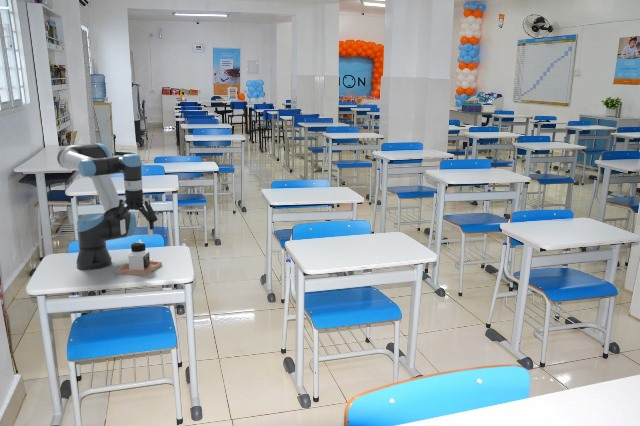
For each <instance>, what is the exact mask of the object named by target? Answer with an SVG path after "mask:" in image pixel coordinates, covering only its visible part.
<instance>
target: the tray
mask: <svg viewBox="0 0 640 426" xmlns="http://www.w3.org/2000/svg"><path fill="white" fill-rule="evenodd" d="M162 263H163V262H162V261H157V260H156V261H155V260H154V261H153V260H152V261H150V266H149V267H148V268H147V269H146V270H145V271H135V270H129V262H128V263H125V264H124V265H122V266H121V267H119V268H117V269H116V273H117V274H124V275H125V274H127V275H137V276H147V275H149V274H150V273H152V272H153V271H155V270H157V269H158V268H160V267H161V266H162Z"/></svg>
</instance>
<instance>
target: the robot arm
mask: <svg viewBox="0 0 640 426" xmlns="http://www.w3.org/2000/svg"><path fill="white" fill-rule="evenodd" d="M56 160H57V163H58V164H59V166H60V167H61V168H64V169H67V170H75V171H78V172H79V174H80V176H82V177H83V178H88V177H89V178H91V181H92V183H93V186H94V188H95V191H96V193H97V196H98V198H99V201H100V204H101V206H102V208H103V211H104V213H103V214H102V213H90V214H87V215H84V216H82V217H80V218H78V219H77V220H76V231H77V240H78V242H77V243H78V248H79V249H78V254H77V258H76V268H77V269H80V270H85V271H86V270H98V269H99V270H100V269H103V268H106V267H108V266H110V265H111V264H112V256H111V255H110V253H109V250H108V248H107V241H113V240H119V239H123V238H124V239H125V238H127V237H131V236H134V235H135V234H136V232H137V225H138V224H137V216H136V214H135V212H133V211H138V212H139V213H141V215H143V217H144V218H145V219H146V220H147V223H146V224H147V237H148V238H150V237H152V236H154V233H153V230H154V228H155V222H157V221H158V220H159V219H158V217H157V215H156V213H155V211H154V209H153V207H152V205H151V202H150V201H151V200H148V199H147V200H144V193H143V192H144V191H143V176H142V161H141V156H140V154H137V153H126V154H123V155H118V154H117V155H115V156H110V152H109V150H108V148H107V146H106V145H105V144H103V143H86V144H72V145H71V144H70V145H66V146H65V147H62V149H60V150H59V151H58V153H57V158H56ZM116 174H117V175H118V174H123V182H124V183H123V184H124V189H125V190H124V196H125V198H120V197H119V194H118V191H117V189H116V187H115V184H114V182H113V180H112V177H111V175H116ZM125 205H126V206H125ZM130 210H131V211H130ZM132 210H133V211H132Z"/></svg>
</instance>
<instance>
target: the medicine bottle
mask: <svg viewBox="0 0 640 426" xmlns="http://www.w3.org/2000/svg"><path fill="white" fill-rule="evenodd" d="M130 246H131V247H130V248H131V253H130V254H128V256H127V258H128V263H129V270H135V271H145V270H146V269H147V268H148V267H149V266H150V259H151V258H150V251H149V250H148V251H147V250H146V243H145V242H142V241H136V242H133V243H131V244H130Z"/></svg>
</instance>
